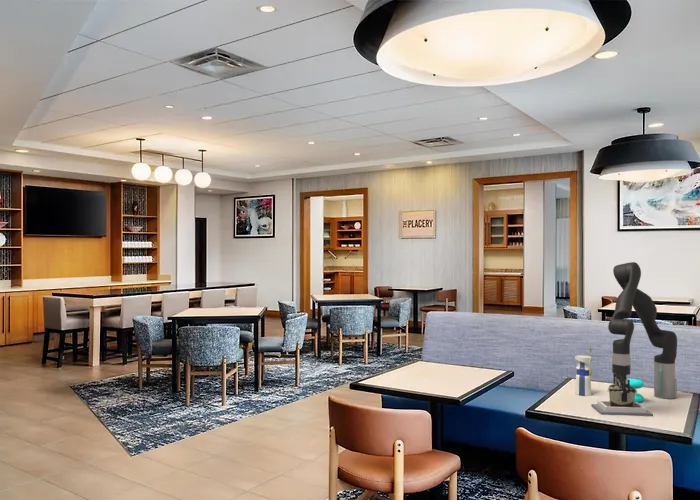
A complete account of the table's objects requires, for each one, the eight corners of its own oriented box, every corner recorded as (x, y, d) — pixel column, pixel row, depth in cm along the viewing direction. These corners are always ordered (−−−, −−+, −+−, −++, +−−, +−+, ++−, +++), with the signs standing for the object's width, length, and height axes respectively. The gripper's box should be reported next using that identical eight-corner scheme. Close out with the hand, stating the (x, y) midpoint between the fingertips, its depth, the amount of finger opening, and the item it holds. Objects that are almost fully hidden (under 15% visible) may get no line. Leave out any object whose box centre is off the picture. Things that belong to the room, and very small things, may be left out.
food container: (631, 404, 263) (632, 384, 262) (636, 410, 257) (637, 389, 256) (603, 403, 265) (604, 382, 264) (607, 408, 259) (608, 387, 258)
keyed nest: (640, 407, 265) (640, 401, 265) (653, 416, 251) (653, 409, 251) (591, 406, 267) (591, 399, 267) (601, 414, 254) (601, 407, 254)
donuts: (648, 381, 275) (632, 383, 272) (648, 402, 275) (632, 404, 271) (632, 377, 284) (616, 378, 281) (632, 397, 284) (616, 399, 281)
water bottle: (593, 393, 291) (593, 344, 292) (590, 397, 284) (590, 347, 284) (576, 391, 296) (576, 343, 296) (573, 394, 289) (573, 345, 289)
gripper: (607, 360, 267) (607, 395, 267) (618, 366, 253) (618, 403, 253) (624, 360, 266) (624, 395, 266) (635, 366, 252) (636, 403, 252)
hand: (621, 399), depth 259 cm, fingers open, 7 cm apart
